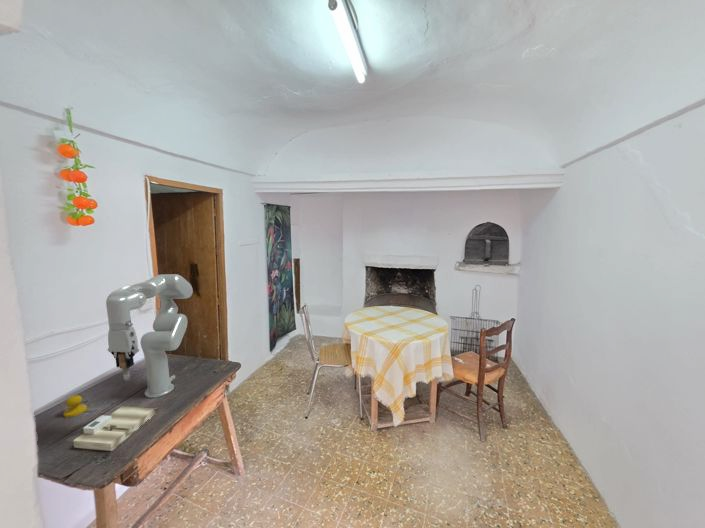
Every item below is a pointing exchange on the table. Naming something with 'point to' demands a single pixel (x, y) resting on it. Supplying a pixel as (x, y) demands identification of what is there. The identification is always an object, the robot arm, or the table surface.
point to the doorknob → (74, 406)
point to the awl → (124, 365)
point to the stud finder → (97, 424)
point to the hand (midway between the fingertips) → (125, 365)
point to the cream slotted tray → (115, 429)
